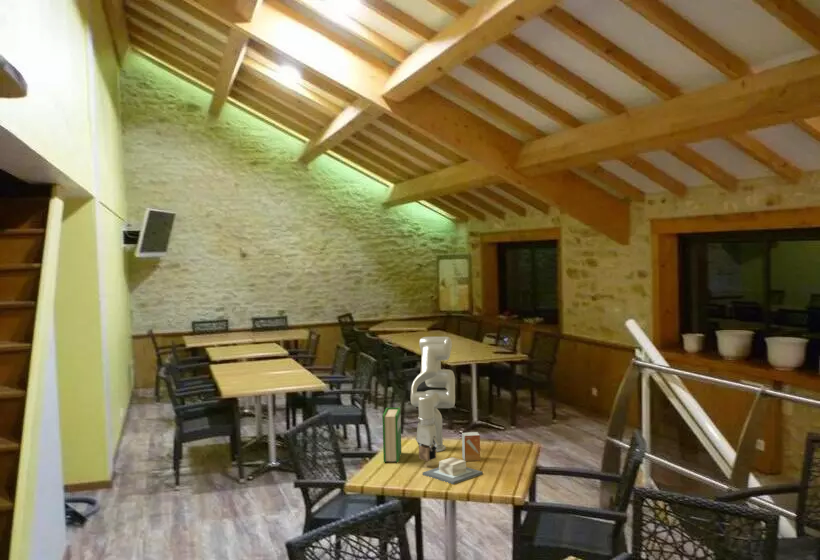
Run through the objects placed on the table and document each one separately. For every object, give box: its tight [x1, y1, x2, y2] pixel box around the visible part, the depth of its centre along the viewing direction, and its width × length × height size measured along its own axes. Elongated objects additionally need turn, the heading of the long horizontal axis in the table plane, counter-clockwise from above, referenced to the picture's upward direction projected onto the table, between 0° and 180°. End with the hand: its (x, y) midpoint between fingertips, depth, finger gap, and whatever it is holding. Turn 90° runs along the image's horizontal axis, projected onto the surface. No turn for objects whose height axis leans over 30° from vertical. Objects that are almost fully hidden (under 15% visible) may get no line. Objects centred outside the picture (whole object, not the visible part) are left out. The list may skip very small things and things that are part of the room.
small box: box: [461, 431, 481, 462], centre depth 352 cm, size 8×6×13 cm
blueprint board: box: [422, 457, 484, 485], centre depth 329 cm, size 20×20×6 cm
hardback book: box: [382, 407, 402, 463], centre depth 358 cm, size 18×7×24 cm, turn 176°
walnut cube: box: [418, 445, 437, 462], centre depth 342 cm, size 6×6×6 cm
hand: (427, 456), depth 342 cm, fingers closed on walnut cube, 6 cm apart
